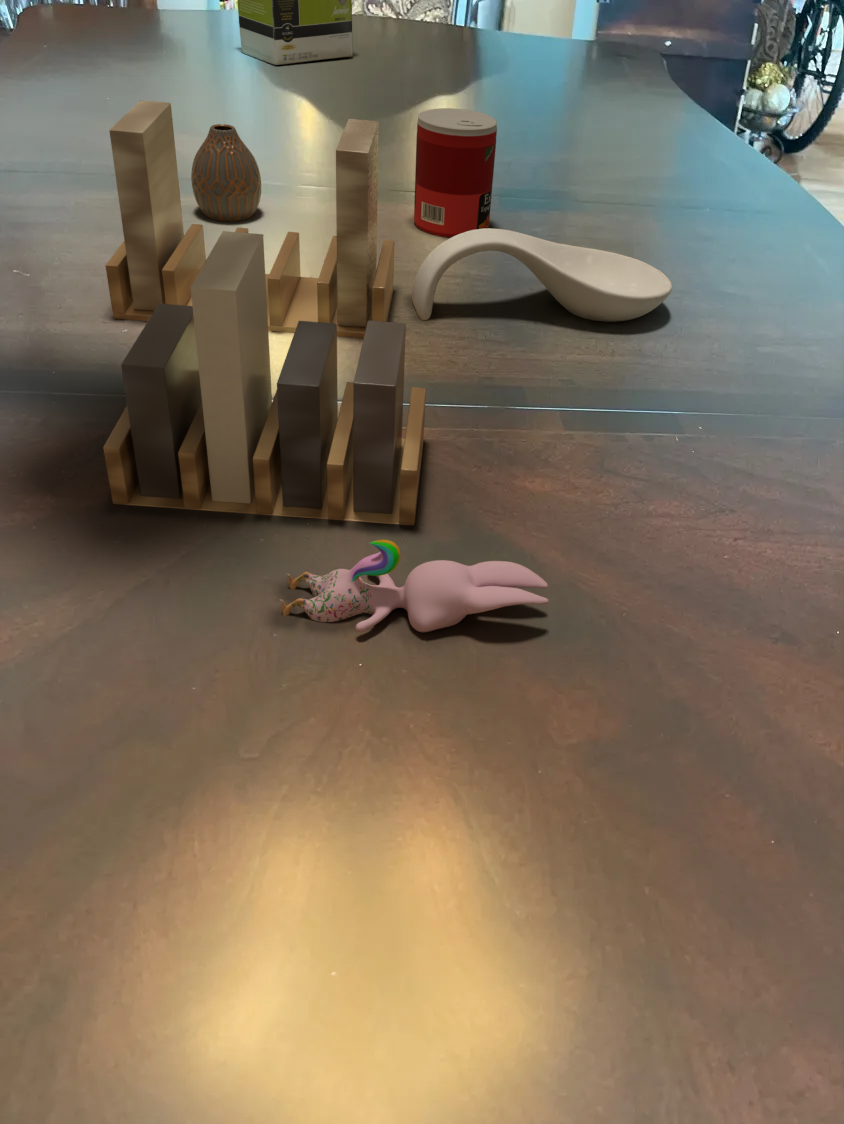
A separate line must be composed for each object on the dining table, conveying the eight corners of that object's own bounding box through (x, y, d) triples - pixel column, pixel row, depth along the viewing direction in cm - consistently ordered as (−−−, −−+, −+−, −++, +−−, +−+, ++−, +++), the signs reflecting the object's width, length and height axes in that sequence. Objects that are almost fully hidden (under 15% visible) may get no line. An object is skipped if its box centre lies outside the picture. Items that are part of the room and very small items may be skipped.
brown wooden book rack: (114, 516, 67) (89, 370, 60) (157, 431, 75) (139, 295, 69) (413, 537, 67) (420, 395, 61) (422, 451, 76) (429, 318, 69)
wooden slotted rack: (114, 324, 88) (84, 131, 78) (147, 274, 96) (124, 95, 86) (383, 345, 89) (387, 157, 79) (393, 294, 97) (397, 119, 87)
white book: (211, 501, 67) (190, 286, 58) (238, 432, 74) (222, 230, 65) (251, 504, 67) (235, 290, 58) (273, 434, 74) (263, 233, 65)
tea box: (317, 45, 174) (314, -62, 164) (354, 58, 168) (354, -51, 159) (238, 52, 165) (231, -59, 156) (275, 67, 160) (270, -48, 151)
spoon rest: (638, 285, 104) (652, 211, 99) (684, 336, 95) (701, 257, 90) (402, 290, 98) (405, 211, 93) (428, 345, 89) (432, 261, 85)
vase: (274, 224, 108) (270, 133, 103) (211, 233, 105) (203, 139, 100) (245, 203, 113) (240, 115, 107) (184, 211, 109) (175, 120, 104)
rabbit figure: (284, 665, 59) (551, 651, 58) (261, 580, 55) (546, 564, 54) (301, 597, 64) (547, 584, 63) (281, 515, 60) (543, 499, 59)
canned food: (494, 244, 109) (504, 130, 102) (417, 242, 108) (422, 127, 101) (482, 218, 115) (490, 109, 108) (409, 216, 114) (413, 106, 107)
